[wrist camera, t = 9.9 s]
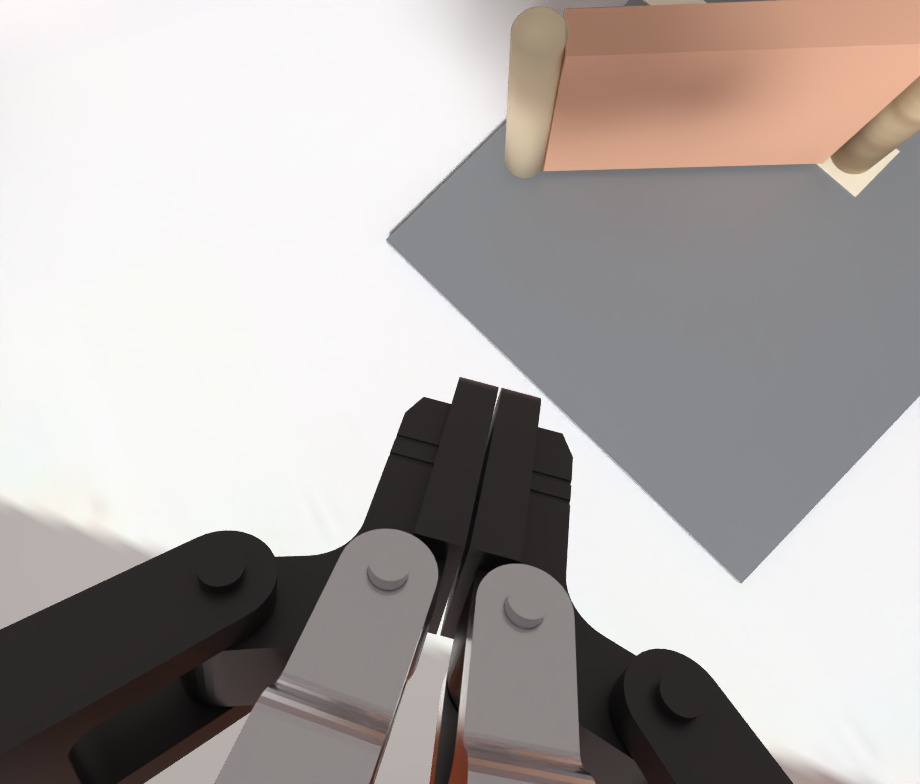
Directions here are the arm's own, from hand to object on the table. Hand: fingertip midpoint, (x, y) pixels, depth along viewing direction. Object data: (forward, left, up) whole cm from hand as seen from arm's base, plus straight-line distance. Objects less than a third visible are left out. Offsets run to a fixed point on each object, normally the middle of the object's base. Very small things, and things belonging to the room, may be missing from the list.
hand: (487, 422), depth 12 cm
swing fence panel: (+4, -14, -16) cm, 22 cm away
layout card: (-1, -17, -16) cm, 24 cm away
